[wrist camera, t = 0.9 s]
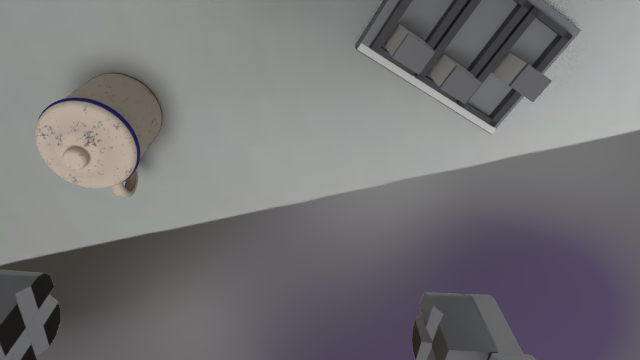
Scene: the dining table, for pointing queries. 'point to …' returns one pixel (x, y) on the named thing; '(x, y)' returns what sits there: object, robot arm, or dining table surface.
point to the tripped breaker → (521, 76)
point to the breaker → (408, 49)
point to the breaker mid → (454, 78)
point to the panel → (472, 46)
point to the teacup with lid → (100, 133)
